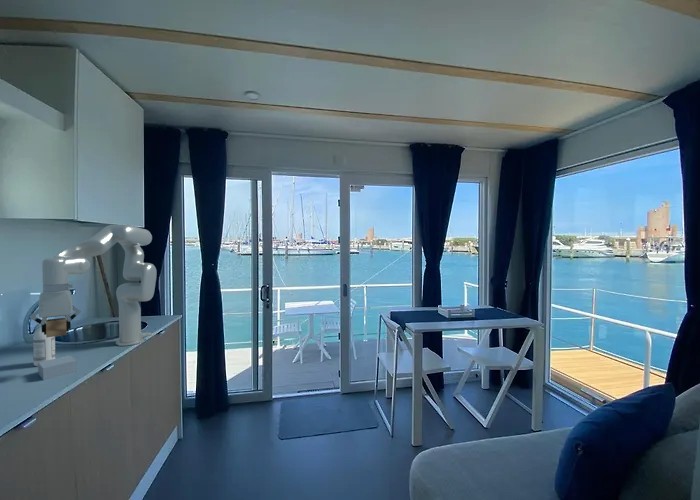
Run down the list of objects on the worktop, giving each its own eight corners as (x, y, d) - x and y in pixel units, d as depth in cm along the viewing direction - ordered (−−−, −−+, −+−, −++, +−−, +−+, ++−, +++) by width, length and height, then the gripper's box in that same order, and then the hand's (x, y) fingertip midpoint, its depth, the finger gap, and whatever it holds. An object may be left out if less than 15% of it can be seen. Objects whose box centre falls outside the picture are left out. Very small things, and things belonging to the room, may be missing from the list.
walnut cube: (66, 331, 135) (65, 317, 135) (66, 334, 130) (66, 320, 130) (46, 334, 131) (46, 319, 131) (46, 337, 126) (45, 322, 126)
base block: (70, 366, 138) (70, 355, 138) (76, 372, 132) (76, 360, 132) (38, 374, 130) (37, 362, 130) (43, 381, 124) (43, 368, 124)
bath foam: (50, 359, 145) (49, 316, 145) (58, 362, 143) (57, 317, 142) (30, 365, 139) (29, 319, 139) (38, 367, 136) (37, 321, 136)
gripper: (82, 285, 139) (83, 326, 139) (25, 289, 127) (26, 334, 127) (83, 287, 133) (84, 330, 134) (24, 291, 122) (25, 338, 122)
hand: (56, 332), depth 131 cm, fingers closed on walnut cube, 6 cm apart
